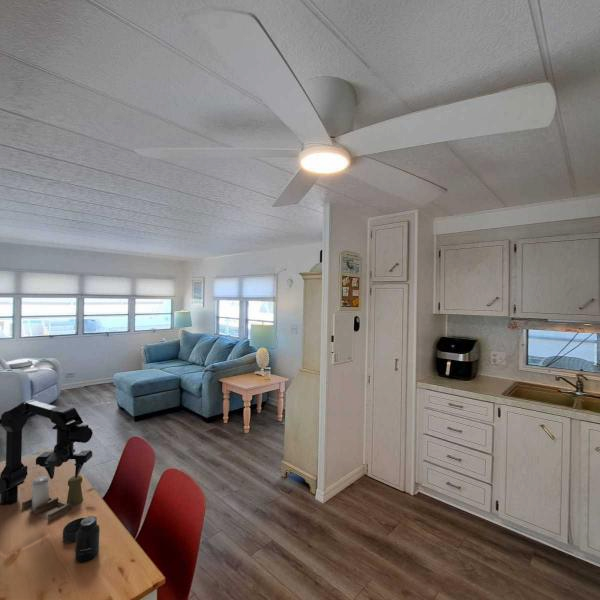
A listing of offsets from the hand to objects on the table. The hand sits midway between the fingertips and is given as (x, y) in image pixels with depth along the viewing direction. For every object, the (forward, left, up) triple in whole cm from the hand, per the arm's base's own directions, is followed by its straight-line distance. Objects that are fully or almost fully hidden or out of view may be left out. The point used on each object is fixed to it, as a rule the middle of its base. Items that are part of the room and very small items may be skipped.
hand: (64, 478), depth 134 cm
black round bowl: (+18, -6, -14) cm, 24 cm away
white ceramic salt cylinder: (-11, -3, -13) cm, 17 cm away
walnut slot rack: (-7, -3, -14) cm, 15 cm away
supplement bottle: (+31, -11, -14) cm, 36 cm away
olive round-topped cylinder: (-2, +5, -14) cm, 15 cm away
